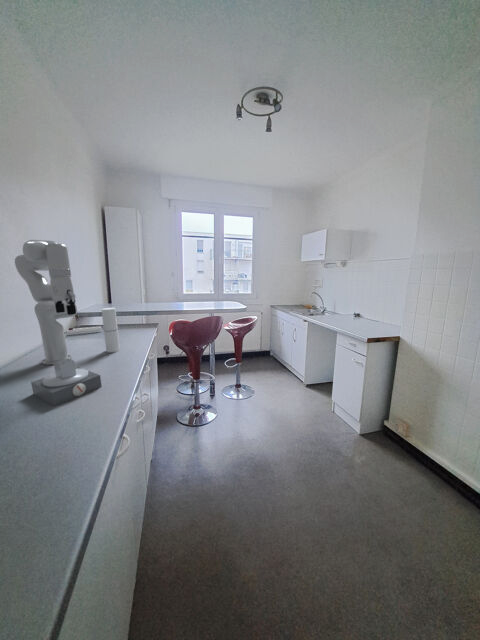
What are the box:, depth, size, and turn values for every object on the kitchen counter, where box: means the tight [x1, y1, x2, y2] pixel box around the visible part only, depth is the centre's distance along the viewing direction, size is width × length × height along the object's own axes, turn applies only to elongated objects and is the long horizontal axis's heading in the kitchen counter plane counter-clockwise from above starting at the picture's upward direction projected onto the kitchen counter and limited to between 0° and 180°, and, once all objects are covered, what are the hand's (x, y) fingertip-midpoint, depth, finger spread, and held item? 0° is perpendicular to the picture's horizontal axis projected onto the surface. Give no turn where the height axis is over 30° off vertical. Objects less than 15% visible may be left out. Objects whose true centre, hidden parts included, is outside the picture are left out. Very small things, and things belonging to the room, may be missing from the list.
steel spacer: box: [53, 358, 76, 380], centre depth 98 cm, size 5×5×6 cm
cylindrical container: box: [101, 307, 121, 353], centre depth 146 cm, size 7×7×25 cm
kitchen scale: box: [30, 366, 102, 407], centre depth 99 cm, size 18×17×6 cm
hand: (66, 313), depth 110 cm, fingers open, 9 cm apart
